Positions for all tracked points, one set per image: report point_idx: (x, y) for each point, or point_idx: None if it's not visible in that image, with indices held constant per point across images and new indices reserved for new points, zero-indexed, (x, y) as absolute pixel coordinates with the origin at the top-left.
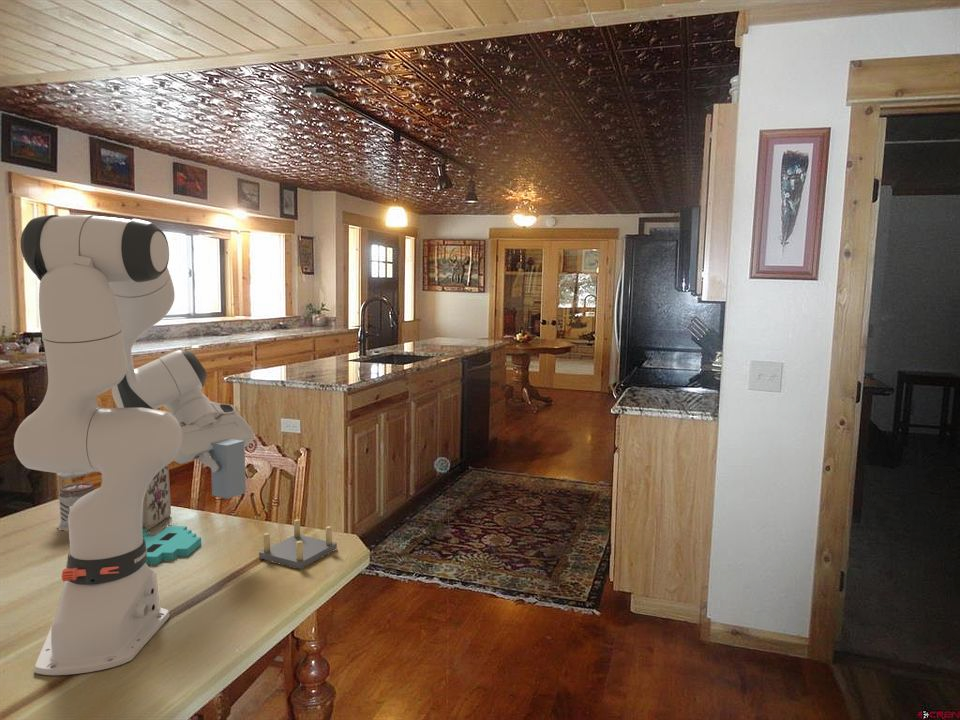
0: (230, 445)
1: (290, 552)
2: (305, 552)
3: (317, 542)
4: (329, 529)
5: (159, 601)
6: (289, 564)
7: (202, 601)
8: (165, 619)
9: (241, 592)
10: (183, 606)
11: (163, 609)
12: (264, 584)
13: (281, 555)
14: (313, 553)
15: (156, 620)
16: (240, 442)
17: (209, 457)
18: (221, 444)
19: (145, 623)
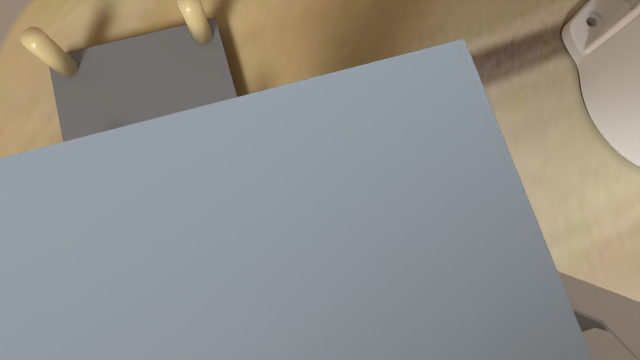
0: (348, 80)
1: (190, 98)
2: (160, 65)
3: (83, 105)
4: (40, 30)
5: (596, 41)
6: (227, 60)
7: (480, 48)
8: (577, 13)
9: (392, 25)
10: (522, 57)
11: (579, 38)
12: (331, 22)
13: (222, 99)
14: (148, 43)
15: (602, 3)
16: (58, 154)
17: (578, 305)
18: (512, 202)
19: (624, 6)
